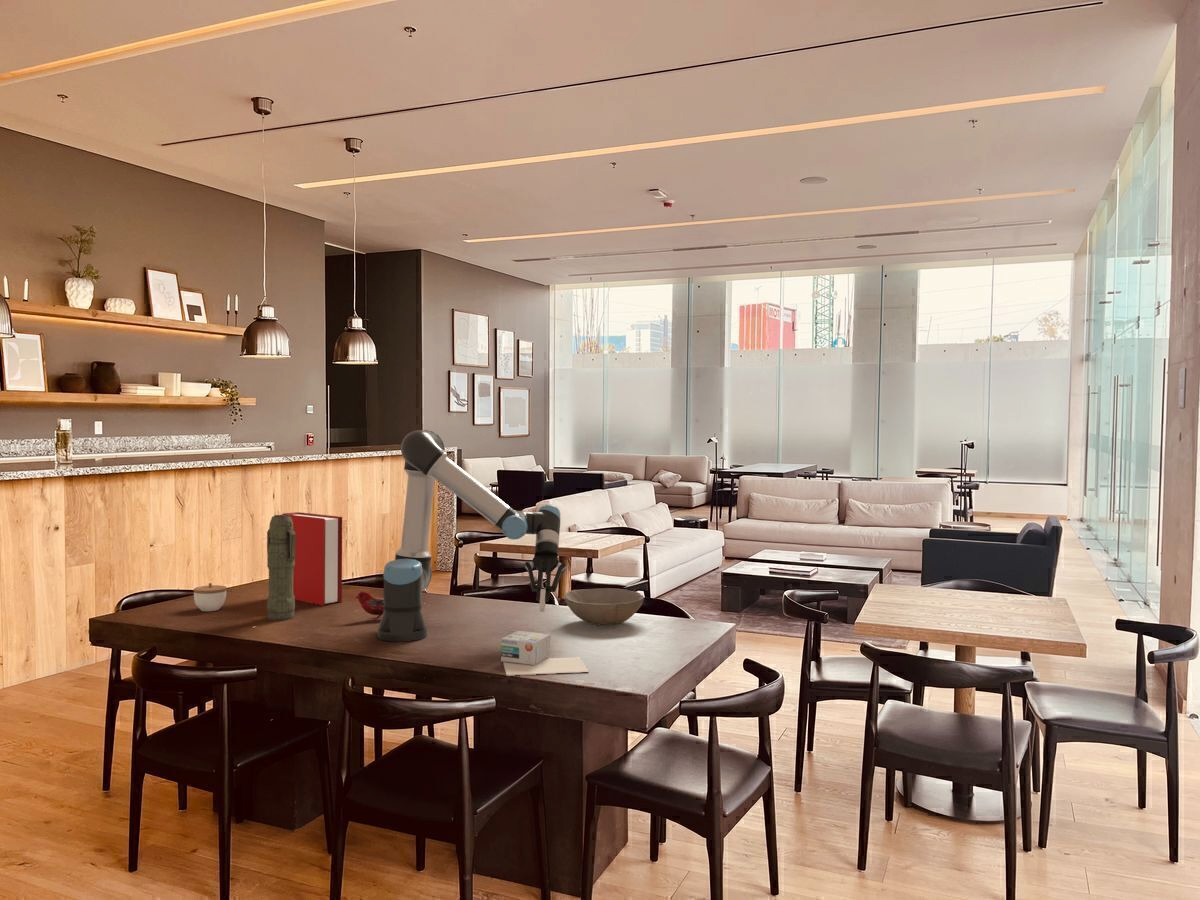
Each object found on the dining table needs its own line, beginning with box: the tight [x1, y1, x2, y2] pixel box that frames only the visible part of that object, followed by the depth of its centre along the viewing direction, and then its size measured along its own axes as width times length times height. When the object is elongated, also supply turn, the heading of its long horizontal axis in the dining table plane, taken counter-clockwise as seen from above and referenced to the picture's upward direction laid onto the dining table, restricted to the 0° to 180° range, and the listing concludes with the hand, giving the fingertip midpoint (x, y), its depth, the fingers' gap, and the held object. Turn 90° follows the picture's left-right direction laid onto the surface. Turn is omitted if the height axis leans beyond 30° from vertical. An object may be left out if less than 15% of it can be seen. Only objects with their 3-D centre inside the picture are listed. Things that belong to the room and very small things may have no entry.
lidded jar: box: [193, 582, 228, 612], centre depth 312 cm, size 11×11×9 cm
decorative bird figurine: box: [354, 590, 384, 620], centre depth 299 cm, size 3×18×10 cm, turn 108°
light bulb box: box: [500, 630, 551, 666], centre depth 248 cm, size 11×7×11 cm
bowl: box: [564, 587, 645, 627], centre depth 297 cm, size 26×26×10 cm
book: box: [281, 511, 343, 606], centre depth 332 cm, size 27×8×32 cm, turn 54°
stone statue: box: [266, 514, 296, 621], centre depth 300 cm, size 9×12×35 cm
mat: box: [502, 656, 590, 677], centre depth 241 cm, size 22×15×1 cm
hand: (541, 609), depth 266 cm, fingers closed
